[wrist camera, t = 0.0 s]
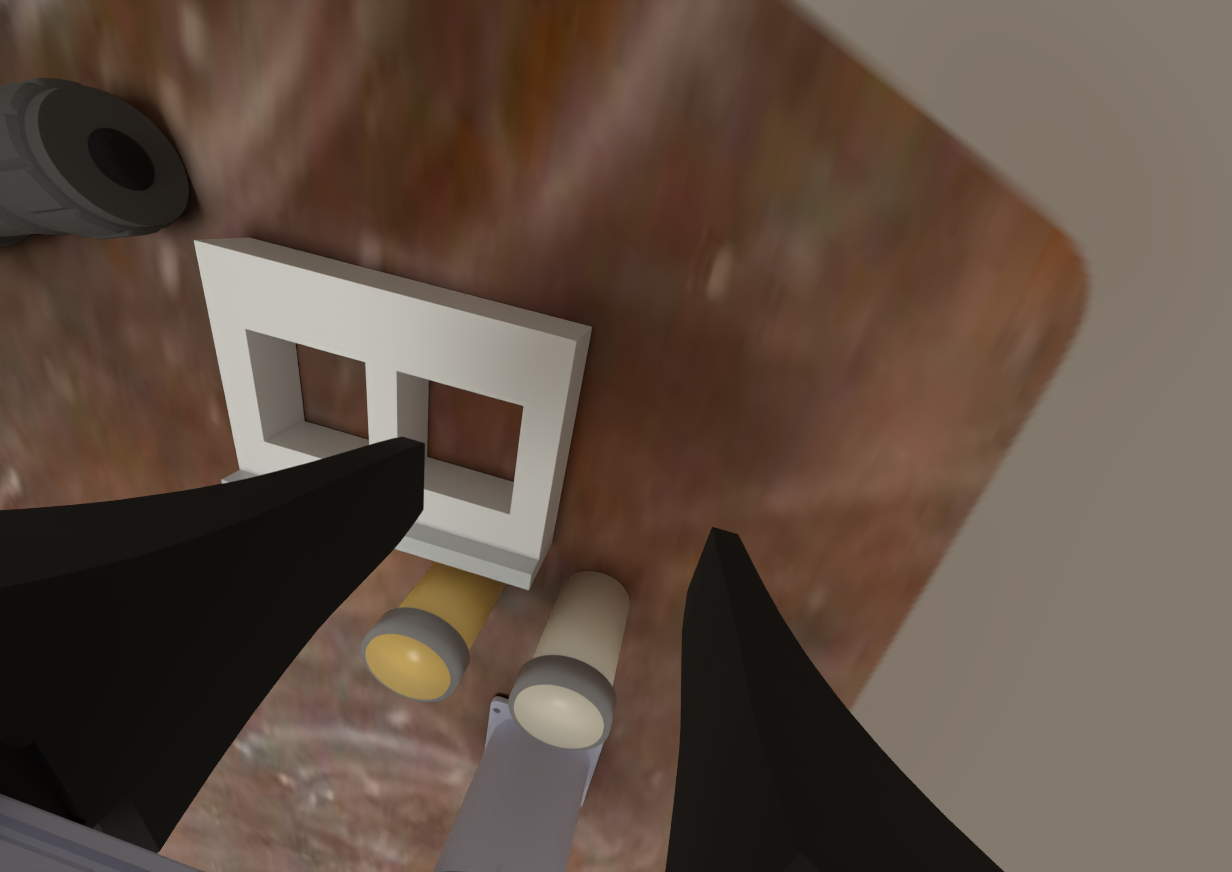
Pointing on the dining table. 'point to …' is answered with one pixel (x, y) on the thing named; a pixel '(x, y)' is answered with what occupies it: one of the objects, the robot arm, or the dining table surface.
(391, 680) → the yellow cylinder grey rim
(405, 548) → the housing
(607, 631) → the cream grey-rimmed peg
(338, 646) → the dining table surface
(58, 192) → the flashlight
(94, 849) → the robot arm
